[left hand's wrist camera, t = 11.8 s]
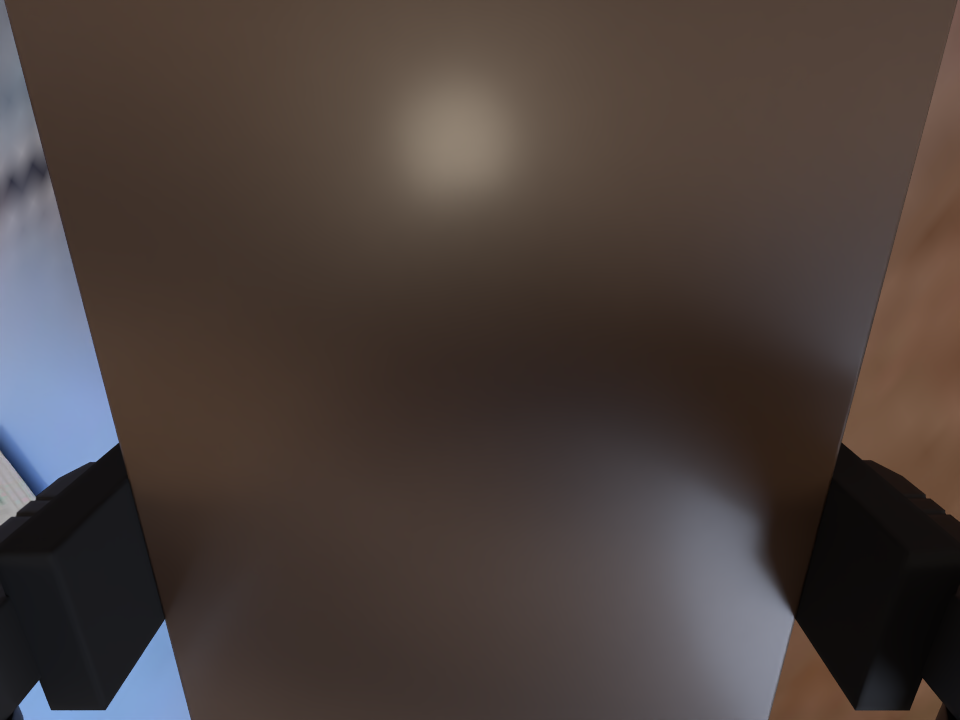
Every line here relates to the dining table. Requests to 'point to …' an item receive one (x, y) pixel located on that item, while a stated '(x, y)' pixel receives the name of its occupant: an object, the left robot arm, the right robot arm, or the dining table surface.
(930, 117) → the dining table surface
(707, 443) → the taupe rectangular box
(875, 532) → the left robot arm
